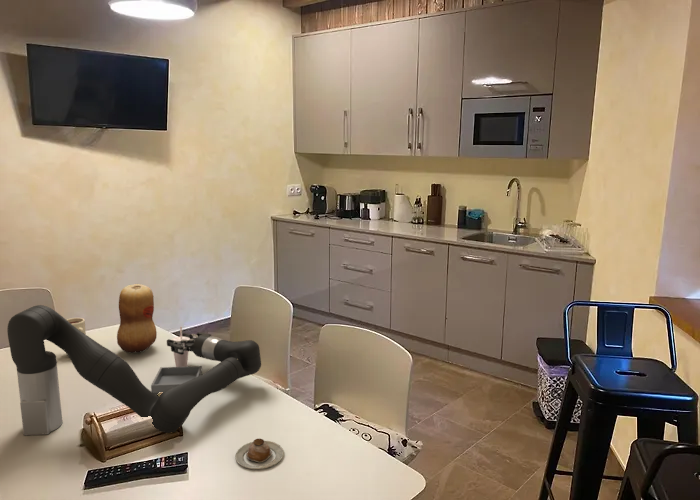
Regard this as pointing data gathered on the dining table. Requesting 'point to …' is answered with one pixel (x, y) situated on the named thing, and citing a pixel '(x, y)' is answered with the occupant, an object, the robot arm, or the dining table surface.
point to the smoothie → (180, 359)
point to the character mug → (78, 324)
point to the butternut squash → (136, 318)
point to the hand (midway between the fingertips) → (175, 339)
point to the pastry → (259, 453)
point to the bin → (174, 377)
